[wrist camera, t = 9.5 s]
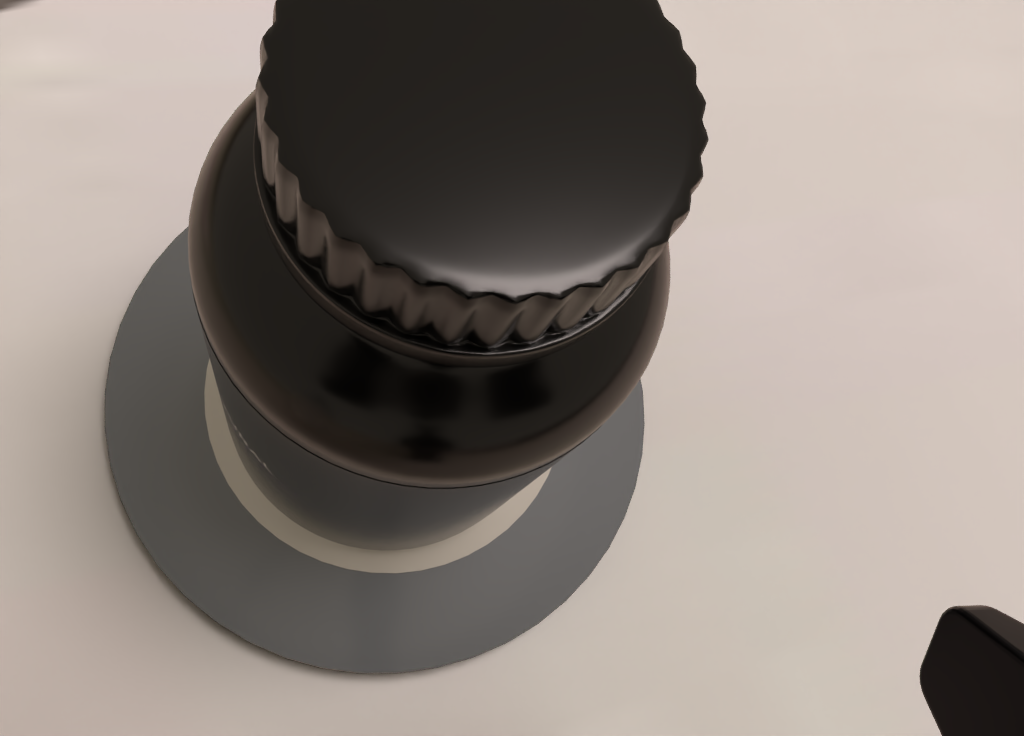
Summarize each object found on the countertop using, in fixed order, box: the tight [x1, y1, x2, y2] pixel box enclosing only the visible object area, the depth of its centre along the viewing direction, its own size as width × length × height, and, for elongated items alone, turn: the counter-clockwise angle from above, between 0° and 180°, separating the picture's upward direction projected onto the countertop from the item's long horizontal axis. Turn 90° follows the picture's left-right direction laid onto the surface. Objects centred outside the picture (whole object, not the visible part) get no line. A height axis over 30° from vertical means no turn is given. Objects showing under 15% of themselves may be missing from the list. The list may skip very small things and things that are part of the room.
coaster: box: [105, 226, 644, 673], centre depth 21 cm, size 12×12×1 cm
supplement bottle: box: [188, 0, 708, 551], centre depth 15 cm, size 7×7×12 cm
